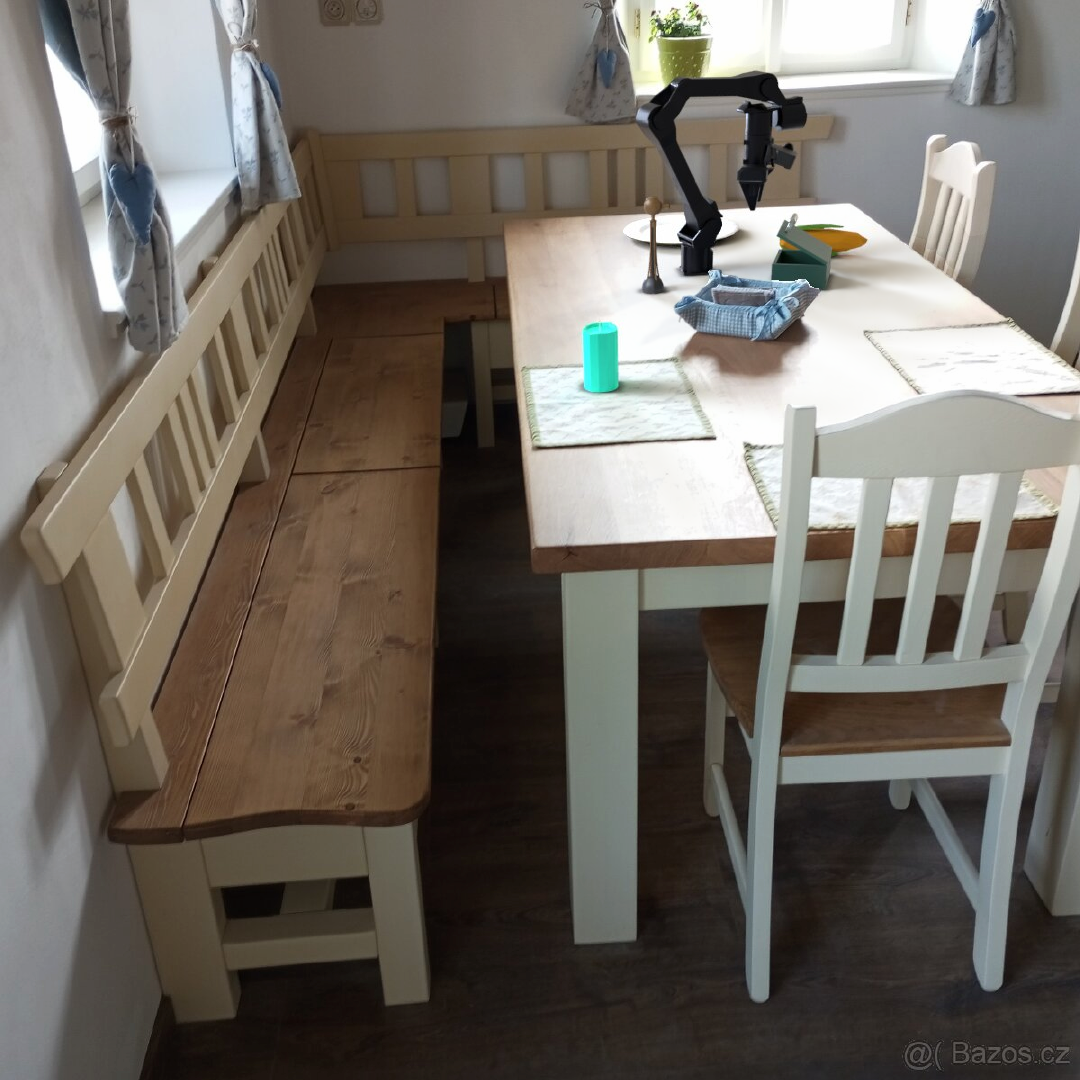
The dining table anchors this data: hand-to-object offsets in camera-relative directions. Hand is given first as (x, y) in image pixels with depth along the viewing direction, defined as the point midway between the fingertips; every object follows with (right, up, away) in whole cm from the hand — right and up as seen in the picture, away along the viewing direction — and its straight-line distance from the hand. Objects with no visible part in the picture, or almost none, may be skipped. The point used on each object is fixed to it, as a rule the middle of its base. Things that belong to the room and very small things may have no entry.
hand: (755, 206), depth 247 cm
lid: (+8, -12, -12) cm, 19 cm away
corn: (+17, -9, +9) cm, 22 cm away
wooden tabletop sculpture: (-24, -21, -9) cm, 33 cm away
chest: (+8, -19, -8) cm, 22 cm away
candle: (-38, -49, -57) cm, 84 cm away
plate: (-13, +2, +32) cm, 35 cm away
